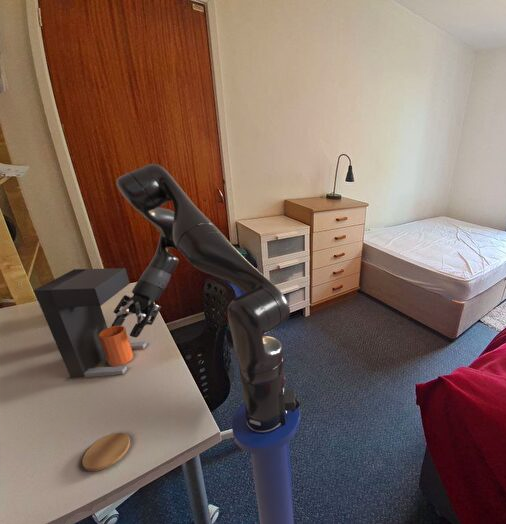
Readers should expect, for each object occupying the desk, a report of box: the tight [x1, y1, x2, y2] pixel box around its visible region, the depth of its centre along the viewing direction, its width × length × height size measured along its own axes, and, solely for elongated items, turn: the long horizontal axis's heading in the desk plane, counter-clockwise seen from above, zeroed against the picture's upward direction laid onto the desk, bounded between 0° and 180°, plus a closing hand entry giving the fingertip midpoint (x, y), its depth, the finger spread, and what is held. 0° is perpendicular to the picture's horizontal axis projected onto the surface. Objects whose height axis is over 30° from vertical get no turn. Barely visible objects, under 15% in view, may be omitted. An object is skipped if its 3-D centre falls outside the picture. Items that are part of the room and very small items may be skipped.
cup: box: [98, 325, 134, 367], centre depth 82 cm, size 6×6×10 cm
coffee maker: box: [33, 267, 148, 379], centre depth 79 cm, size 13×13×27 cm
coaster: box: [81, 432, 131, 472], centre depth 58 cm, size 8×8×1 cm
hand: (123, 333), depth 83 cm, fingers open, 8 cm apart
